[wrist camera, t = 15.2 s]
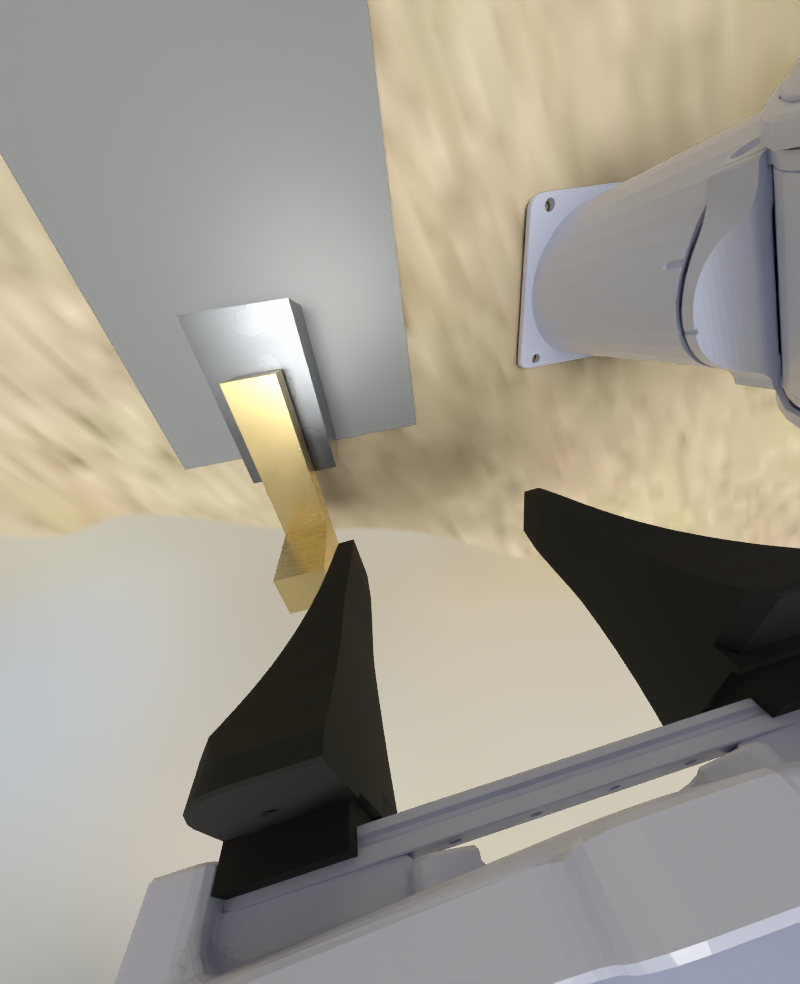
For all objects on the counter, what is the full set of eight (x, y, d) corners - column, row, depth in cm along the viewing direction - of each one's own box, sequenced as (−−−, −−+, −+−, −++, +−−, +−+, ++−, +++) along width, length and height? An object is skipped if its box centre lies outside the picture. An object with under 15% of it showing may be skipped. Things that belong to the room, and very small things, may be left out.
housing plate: (362, 2, 11) (376, -212, 7) (412, 419, 19) (433, 446, 15) (-49, 33, 10) (-358, -201, 5) (192, 462, 18) (145, 505, 14)
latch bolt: (281, 370, 12) (254, 388, 8) (342, 554, 17) (342, 616, 13) (230, 378, 11) (178, 401, 8) (307, 562, 16) (297, 627, 13)
